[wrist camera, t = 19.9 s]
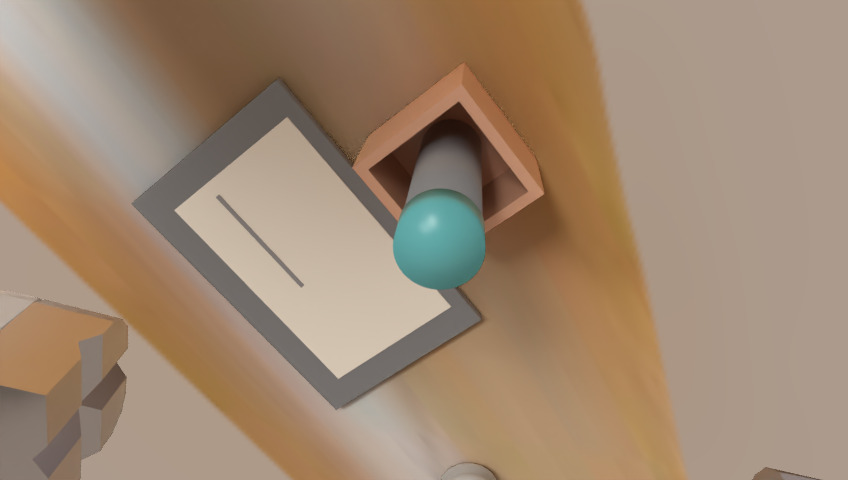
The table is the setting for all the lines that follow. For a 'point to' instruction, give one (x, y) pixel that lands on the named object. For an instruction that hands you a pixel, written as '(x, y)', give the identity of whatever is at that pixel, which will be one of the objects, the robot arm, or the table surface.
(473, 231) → the marker
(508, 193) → the pen cup
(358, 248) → the drawing board
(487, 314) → the table surface
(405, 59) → the table surface
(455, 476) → the rook chess piece
